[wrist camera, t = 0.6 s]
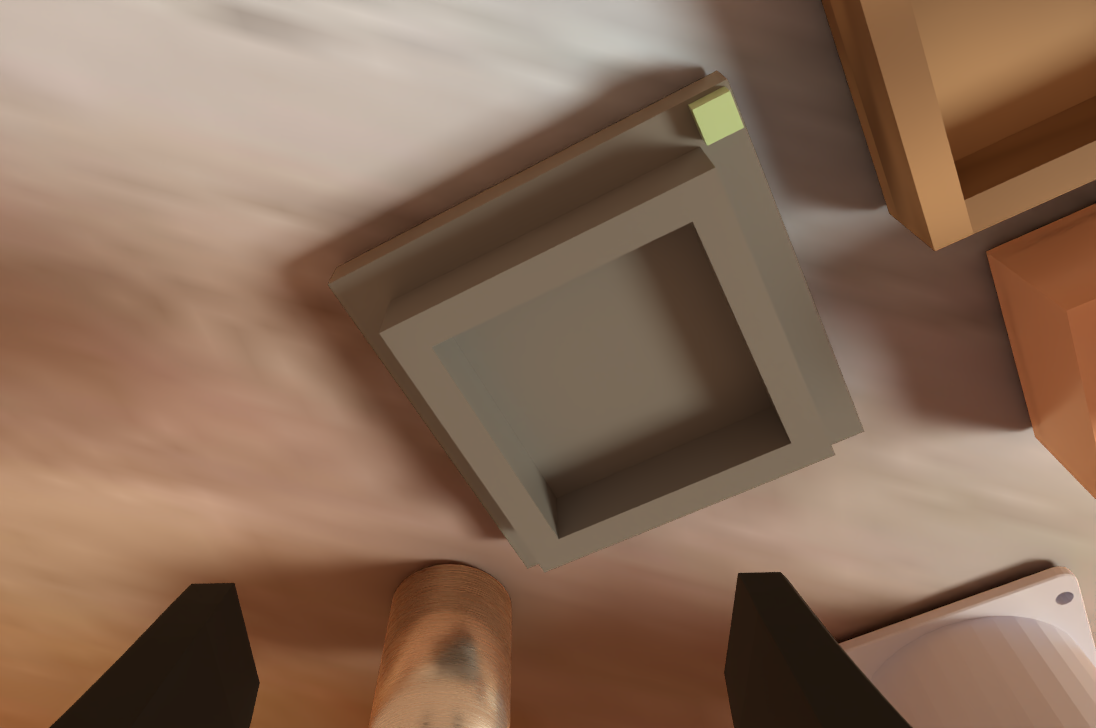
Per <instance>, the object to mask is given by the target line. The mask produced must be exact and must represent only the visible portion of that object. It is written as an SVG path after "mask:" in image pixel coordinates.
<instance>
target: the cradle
mask: <svg viewBox="0 0 1096 728" xmlns="http://www.w3.org/2000/svg"><path fill="white" fill-rule="evenodd" d="M328 286H329V287H330V289H331V290H332V291H333V293H334V294H335V296H336V297H337V299H338V300H339V301H340V303H341V304H342V306H343V307H344V308H345V310H346V311H347V313H348V314H349V316H350V317H351V318H352V320H353V321H354V323H355V324H356V326H357V327H358V328H359V330H360V331H361V333H362V334H363V335H364V337H365V338H366V340H367V341H368V343H369V344H370V345H371V347H372V348H373V350H374V351H375V353H376V354H377V355H378V357H379V358H380V360H381V361H382V362H383V364H384V365H385V367H386V368H387V370H388V371H389V372H390V374H391V375H392V377H393V378H394V380H395V381H396V382H397V384H398V385H399V387H400V388H401V389H402V391H403V392H404V394H405V395H406V397H407V398H408V399H409V401H410V402H411V404H412V405H413V407H414V408H415V409H416V411H417V412H418V414H419V415H420V416H421V418H422V419H423V421H424V422H425V424H426V425H427V426H428V428H429V429H430V431H431V432H432V434H433V435H434V436H435V438H436V439H437V441H438V442H439V443H440V445H441V446H442V448H443V449H444V451H445V452H446V453H447V455H448V456H449V458H450V459H451V461H452V462H453V463H454V465H455V466H456V468H457V469H458V470H459V472H460V473H461V475H462V476H463V478H464V479H465V480H466V482H467V483H468V485H469V486H470V488H471V489H472V490H473V492H474V493H475V495H476V496H477V497H478V499H479V500H480V502H481V503H482V505H483V506H484V507H485V509H486V510H487V512H488V513H489V515H490V516H491V517H492V519H493V520H494V522H495V523H496V524H497V526H498V527H499V529H500V530H501V532H502V533H503V534H504V536H505V537H506V539H507V540H508V542H509V543H510V544H511V546H512V547H513V549H514V550H515V551H516V553H517V554H518V556H519V557H520V559H521V560H522V561H523V563H524V564H525V566H526V567H527V569H528V568H531V567H533V566H535V565H538V564H539V565H540V567H541V568H542V570H543V571H544V573H545V572H547V571H550V570H552V569H555V568H557V567H560V566H562V565H565V564H567V563H569V562H572V561H574V560H577V559H579V558H582V557H584V556H587V555H589V554H592V553H594V552H597V551H599V550H602V549H604V548H607V547H609V546H611V545H614V544H616V543H619V542H621V541H624V540H626V539H629V538H631V537H634V536H636V535H639V534H641V533H644V532H646V531H649V530H651V529H653V528H656V527H658V526H661V525H663V524H666V523H668V522H671V521H673V520H676V519H678V518H681V517H683V516H686V515H688V514H691V513H693V512H695V511H698V510H700V509H703V508H705V507H708V506H710V505H713V504H715V503H718V502H720V501H723V500H725V499H728V498H730V497H733V496H735V495H737V494H740V493H742V492H745V491H747V490H750V489H752V488H755V487H757V486H760V485H762V484H765V483H767V482H770V481H772V480H775V479H777V478H779V477H782V476H784V475H787V474H789V473H792V472H794V471H797V470H799V469H802V468H804V467H807V466H809V465H812V464H814V463H817V462H819V461H821V460H824V459H826V458H829V457H831V456H834V455H835V453H834V451H833V448H832V446H831V445H832V444H835V443H837V442H840V441H842V440H844V439H847V438H849V437H852V436H854V435H857V434H859V433H862V432H864V430H863V427H862V424H861V422H860V419H859V417H858V414H857V412H856V409H855V406H854V404H853V401H852V399H851V396H850V394H849V391H848V388H847V386H846V383H845V381H844V378H843V375H842V373H841V370H840V368H839V365H838V363H837V360H836V357H835V355H834V352H833V350H832V347H831V345H830V342H829V339H828V337H827V334H826V332H825V329H824V327H823V324H822V321H821V319H820V316H819V314H818V311H817V309H816V306H815V303H814V301H813V298H812V296H811V293H810V291H809V288H808V285H807V283H806V280H805V278H804V275H803V272H802V270H801V267H800V265H799V262H798V260H797V257H796V254H795V252H794V249H793V247H792V244H791V242H790V239H789V236H788V234H787V231H786V229H785V226H784V224H783V221H782V218H781V216H780V213H779V211H778V208H777V206H776V203H775V200H774V198H773V195H772V193H771V190H770V188H769V185H768V182H767V180H766V177H765V175H764V172H763V169H762V167H761V164H760V162H759V159H758V157H757V154H756V151H755V149H754V146H753V144H752V141H751V139H750V136H749V133H748V131H747V128H746V126H745V123H744V121H743V118H742V115H741V113H740V110H739V108H738V105H737V103H736V100H735V97H734V95H733V92H732V90H731V87H730V85H729V82H728V79H727V78H726V77H724V76H723V75H722V74H721V73H719V72H718V71H715V72H713V73H711V74H709V75H708V76H706V77H704V78H702V79H700V80H698V81H696V82H694V83H692V84H690V85H688V86H686V87H684V88H682V89H680V90H679V91H677V92H675V93H673V94H671V95H669V96H667V97H665V98H663V99H661V100H659V101H657V102H655V103H653V104H652V105H650V106H648V107H646V108H644V109H642V110H640V111H638V112H636V113H634V114H632V115H630V116H628V117H626V118H624V119H623V120H621V121H619V122H617V123H615V124H613V125H611V126H609V127H607V128H605V129H603V130H601V131H599V132H597V133H595V134H594V135H592V136H590V137H588V138H586V139H584V140H582V141H580V142H578V143H576V144H574V145H572V146H570V147H568V148H567V149H565V150H563V151H561V152H559V153H557V154H555V155H553V156H551V157H549V158H547V159H545V160H543V161H541V162H539V163H538V164H536V165H534V166H532V167H530V168H528V169H526V170H524V171H522V172H520V173H518V174H516V175H514V176H512V177H511V178H509V179H507V180H505V181H503V182H501V183H499V184H497V185H495V186H493V187H491V188H489V189H487V190H485V191H483V192H482V193H480V194H478V195H476V196H474V197H472V198H470V199H468V200H466V201H464V202H462V203H460V204H458V205H456V206H455V207H453V208H451V209H449V210H447V211H445V212H443V213H441V214H439V215H437V216H435V217H433V218H431V219H429V220H427V221H426V222H424V223H422V224H420V225H418V226H416V227H414V228H412V229H410V230H408V231H406V232H404V233H402V234H400V235H399V236H397V237H395V238H393V239H391V240H389V241H387V242H385V243H383V244H381V245H379V246H377V247H375V248H373V249H371V250H370V251H368V252H366V253H364V254H362V255H360V256H358V257H356V258H354V259H352V260H350V261H348V262H346V263H344V264H343V265H341V266H339V267H337V268H336V270H335V272H334V273H333V275H332V277H331V279H330V281H329V283H328Z"/></svg>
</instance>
